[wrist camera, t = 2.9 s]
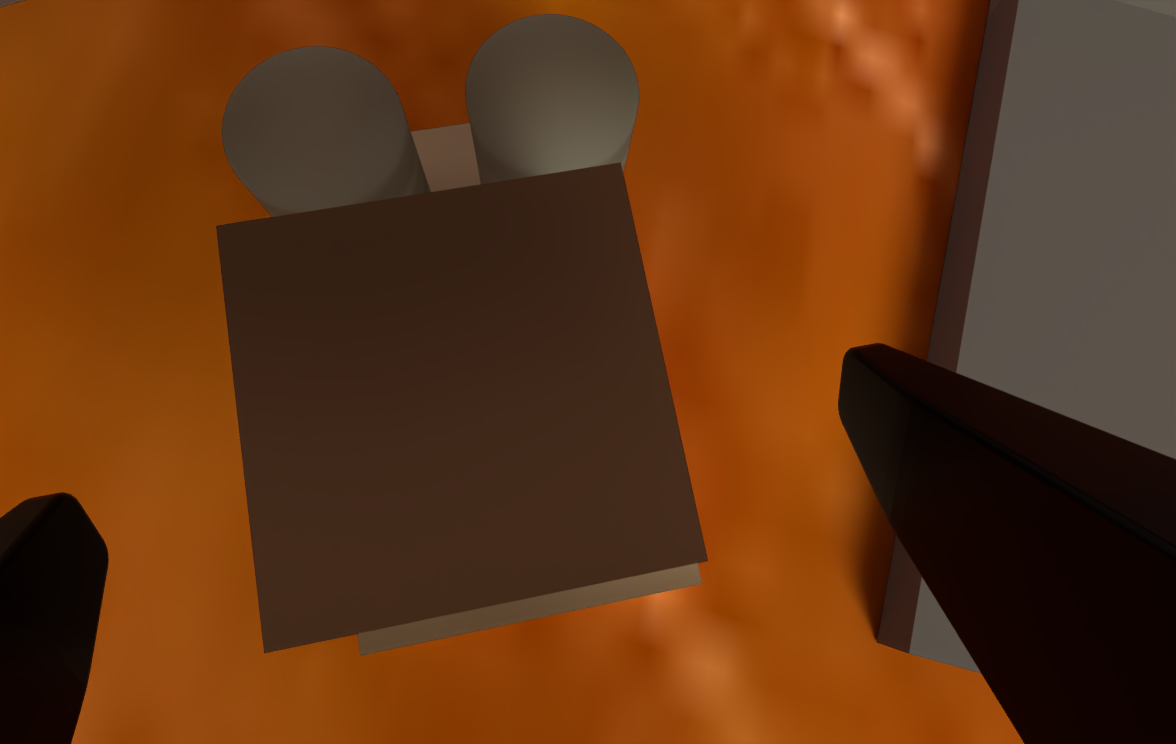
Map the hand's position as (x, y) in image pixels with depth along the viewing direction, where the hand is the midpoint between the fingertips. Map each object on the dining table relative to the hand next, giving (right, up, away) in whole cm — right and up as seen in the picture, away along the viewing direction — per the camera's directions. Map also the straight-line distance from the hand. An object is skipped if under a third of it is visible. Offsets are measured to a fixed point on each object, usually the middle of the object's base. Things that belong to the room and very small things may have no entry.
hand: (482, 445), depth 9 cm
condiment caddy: (-1, +1, +9) cm, 9 cm away
